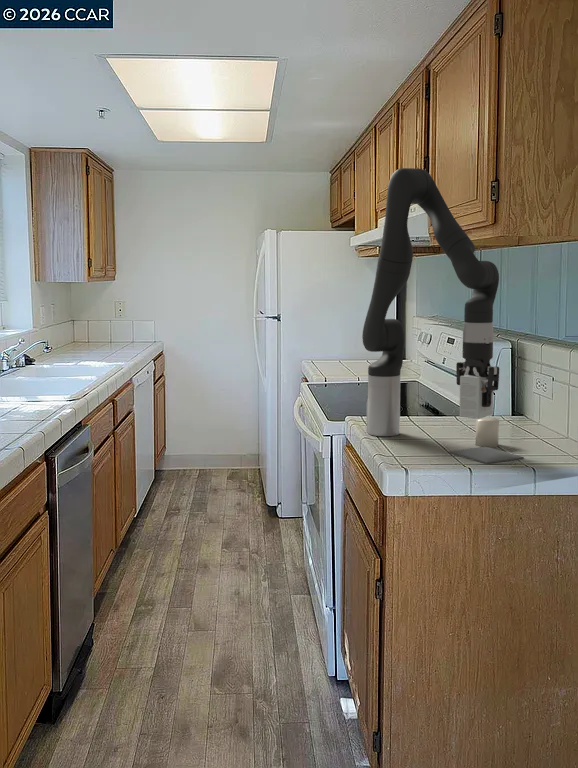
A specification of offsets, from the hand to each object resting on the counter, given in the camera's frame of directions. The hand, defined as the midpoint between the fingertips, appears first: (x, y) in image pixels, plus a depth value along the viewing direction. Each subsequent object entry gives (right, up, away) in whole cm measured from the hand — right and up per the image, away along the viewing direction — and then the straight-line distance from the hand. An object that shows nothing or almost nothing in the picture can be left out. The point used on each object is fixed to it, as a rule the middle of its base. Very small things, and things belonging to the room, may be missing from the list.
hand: (476, 404), depth 199 cm
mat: (+2, -13, -2) cm, 13 cm away
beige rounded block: (+5, -11, +11) cm, 17 cm away
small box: (0, -3, 0) cm, 3 cm away
